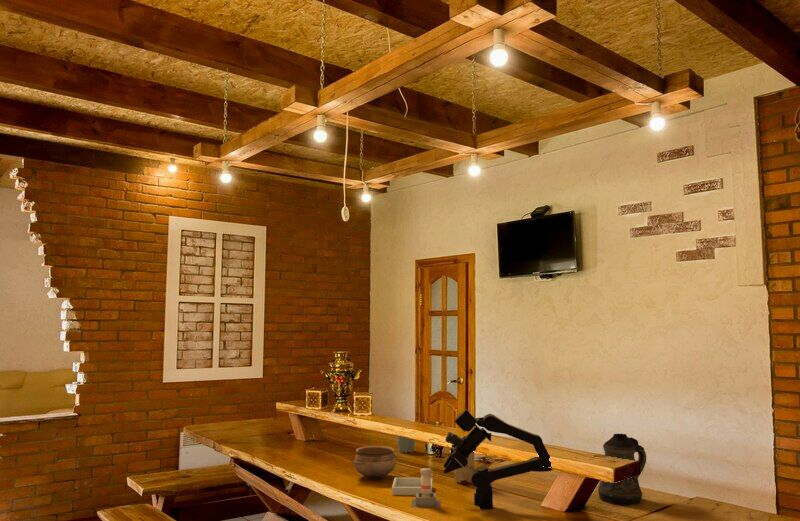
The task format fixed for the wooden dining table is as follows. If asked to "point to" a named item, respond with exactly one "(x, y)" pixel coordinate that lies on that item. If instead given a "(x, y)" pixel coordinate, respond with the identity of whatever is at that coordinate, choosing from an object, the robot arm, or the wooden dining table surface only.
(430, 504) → the fuse block
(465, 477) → the food model
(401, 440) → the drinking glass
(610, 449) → the black jug
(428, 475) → the fuse
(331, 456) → the wooden dining table surface
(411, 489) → the tray
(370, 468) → the cooking pot
